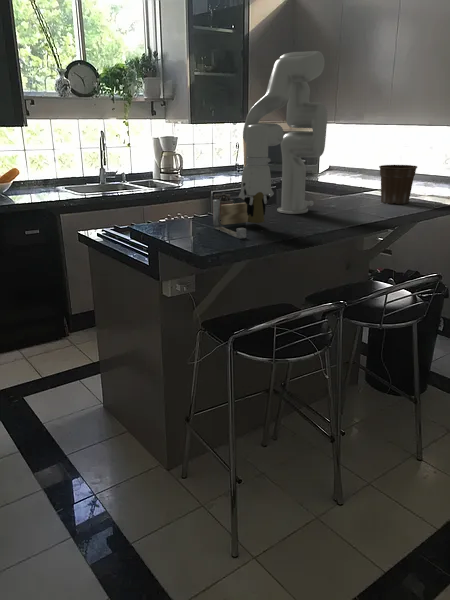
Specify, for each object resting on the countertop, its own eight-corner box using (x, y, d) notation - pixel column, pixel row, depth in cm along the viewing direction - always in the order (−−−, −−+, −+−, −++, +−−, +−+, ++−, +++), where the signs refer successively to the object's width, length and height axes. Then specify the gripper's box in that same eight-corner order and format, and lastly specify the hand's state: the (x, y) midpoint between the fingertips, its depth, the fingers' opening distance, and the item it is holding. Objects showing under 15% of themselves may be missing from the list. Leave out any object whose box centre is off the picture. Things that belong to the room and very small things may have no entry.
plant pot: (368, 202, 235) (371, 165, 230) (390, 198, 244) (393, 163, 239) (398, 206, 223) (402, 168, 217) (420, 202, 232) (425, 166, 226)
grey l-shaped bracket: (212, 227, 186) (211, 199, 182) (218, 226, 187) (217, 199, 183) (239, 238, 169) (240, 208, 166) (246, 237, 170) (246, 207, 167)
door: (222, 225, 185) (222, 205, 183) (219, 223, 188) (218, 204, 185) (256, 221, 191) (256, 202, 189) (252, 219, 194) (252, 201, 191)
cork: (244, 221, 183) (244, 190, 180) (255, 218, 187) (255, 188, 184) (256, 223, 179) (257, 191, 176) (267, 221, 183) (268, 190, 180)
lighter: (233, 218, 201) (233, 192, 197) (233, 220, 198) (233, 194, 194) (212, 219, 201) (212, 193, 197) (212, 220, 198) (212, 194, 194)
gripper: (271, 160, 183) (269, 211, 190) (230, 162, 176) (230, 215, 182) (283, 161, 177) (281, 214, 183) (241, 164, 170) (241, 219, 176)
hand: (256, 214), depth 183 cm, fingers closed on cork, 4 cm apart
